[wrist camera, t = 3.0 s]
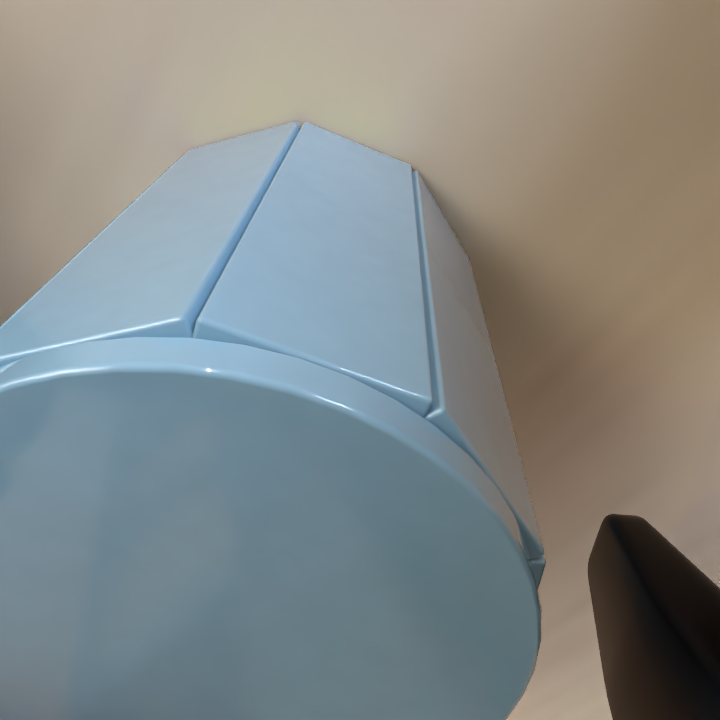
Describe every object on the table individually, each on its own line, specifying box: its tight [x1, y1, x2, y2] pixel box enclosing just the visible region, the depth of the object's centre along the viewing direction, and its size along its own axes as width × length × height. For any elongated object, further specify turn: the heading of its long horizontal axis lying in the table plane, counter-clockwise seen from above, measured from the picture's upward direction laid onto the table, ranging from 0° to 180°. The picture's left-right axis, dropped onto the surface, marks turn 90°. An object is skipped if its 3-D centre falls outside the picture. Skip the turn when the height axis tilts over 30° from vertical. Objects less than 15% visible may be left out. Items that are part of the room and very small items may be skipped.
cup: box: [0, 121, 546, 720], centre depth 10 cm, size 7×7×8 cm
